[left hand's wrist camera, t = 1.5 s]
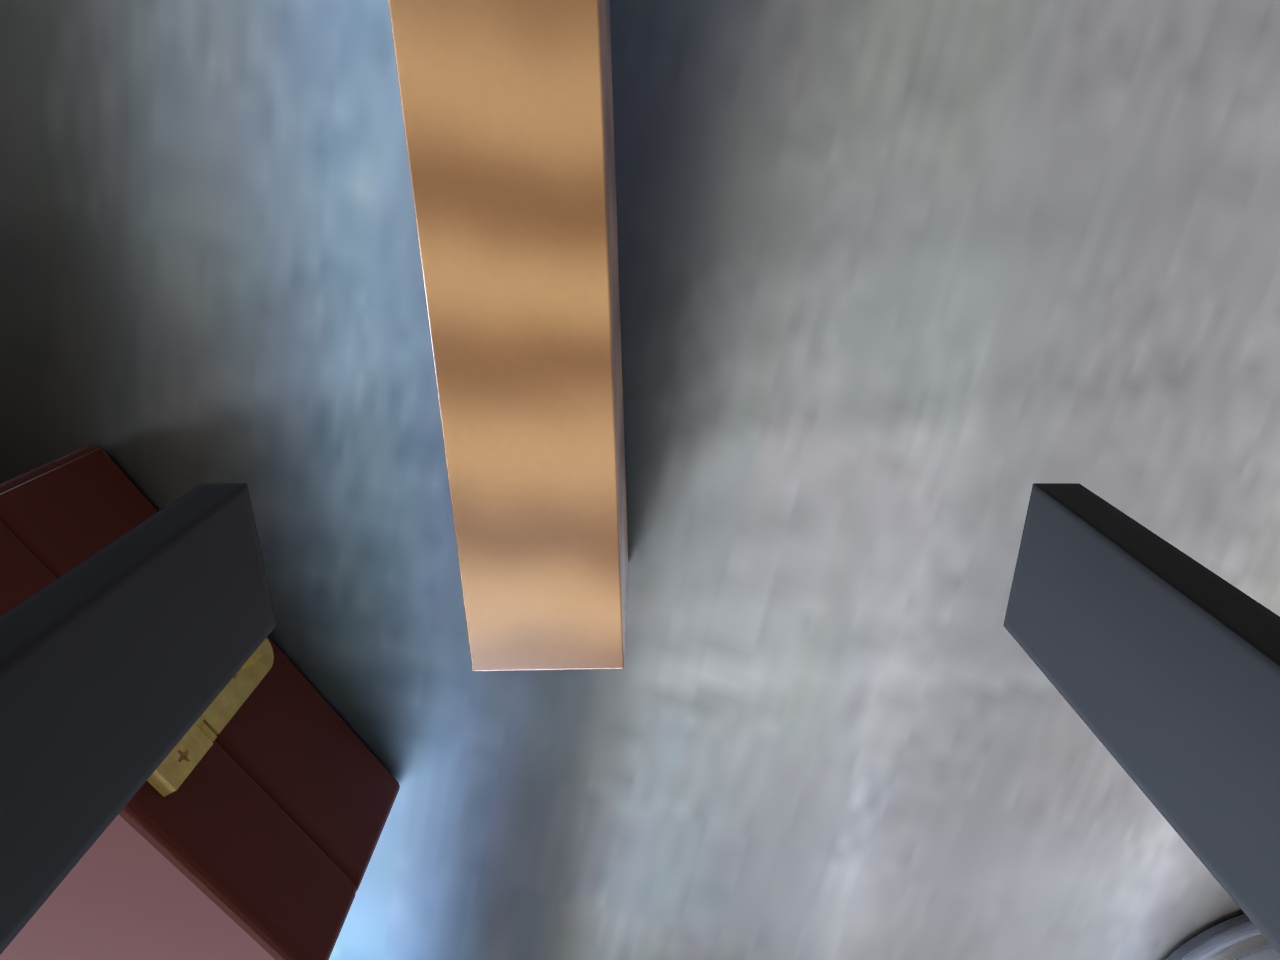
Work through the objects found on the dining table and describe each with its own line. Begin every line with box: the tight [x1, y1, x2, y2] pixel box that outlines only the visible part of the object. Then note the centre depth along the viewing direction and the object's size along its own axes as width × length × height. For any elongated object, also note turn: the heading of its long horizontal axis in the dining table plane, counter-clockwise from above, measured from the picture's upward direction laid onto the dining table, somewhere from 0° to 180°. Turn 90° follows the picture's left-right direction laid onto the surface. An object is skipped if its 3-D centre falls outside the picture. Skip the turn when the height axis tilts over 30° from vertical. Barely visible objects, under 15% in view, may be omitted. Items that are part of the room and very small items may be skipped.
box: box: [0, 445, 400, 960], centre depth 30 cm, size 21×16×10 cm
